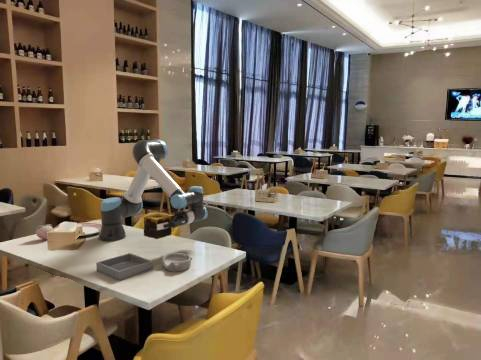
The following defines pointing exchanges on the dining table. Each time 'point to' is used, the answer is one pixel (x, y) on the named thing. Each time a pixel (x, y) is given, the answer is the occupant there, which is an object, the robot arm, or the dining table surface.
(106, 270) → the tray
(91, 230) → the dinner plate
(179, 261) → the dish
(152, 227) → the candle
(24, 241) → the dining table surface
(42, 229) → the decorative fruit
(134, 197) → the robot arm
